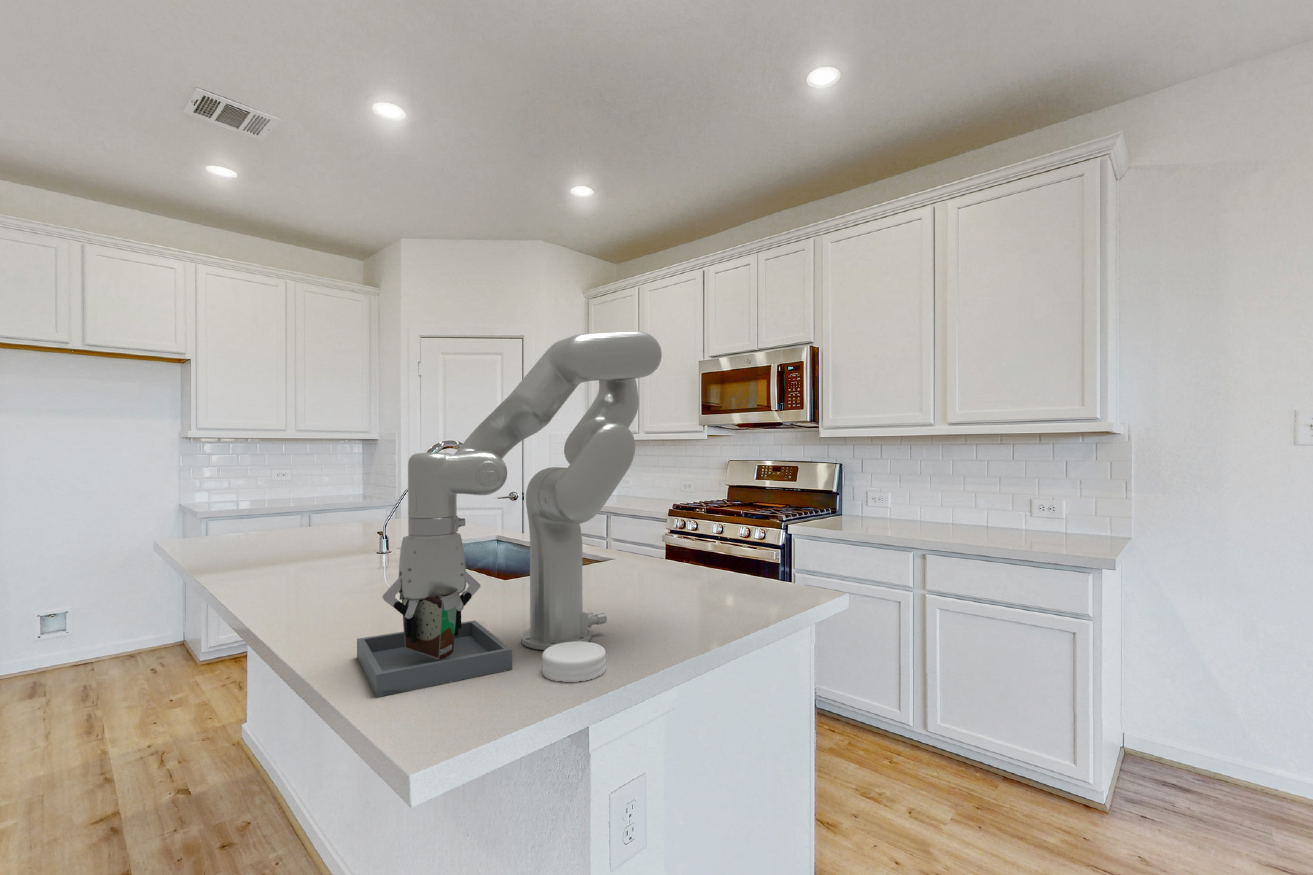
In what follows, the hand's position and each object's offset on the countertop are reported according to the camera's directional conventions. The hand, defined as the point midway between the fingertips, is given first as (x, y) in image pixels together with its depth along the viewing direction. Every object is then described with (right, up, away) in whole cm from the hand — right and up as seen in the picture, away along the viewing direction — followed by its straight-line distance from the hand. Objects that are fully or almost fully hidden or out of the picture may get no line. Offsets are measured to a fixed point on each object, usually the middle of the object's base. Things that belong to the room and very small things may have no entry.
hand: (433, 636), depth 103 cm
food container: (+1, -3, +1) cm, 3 cm away
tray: (0, -4, 0) cm, 4 cm away
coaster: (+24, -5, -4) cm, 24 cm away
